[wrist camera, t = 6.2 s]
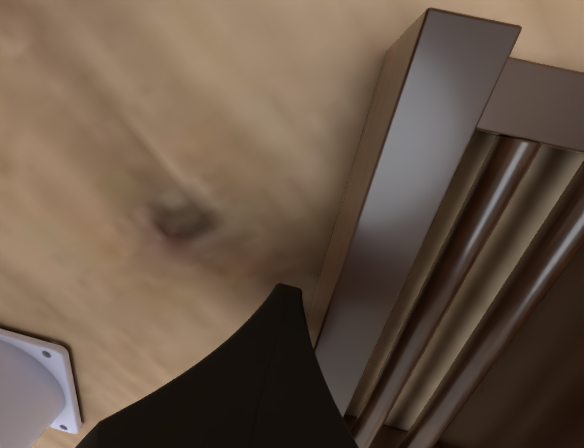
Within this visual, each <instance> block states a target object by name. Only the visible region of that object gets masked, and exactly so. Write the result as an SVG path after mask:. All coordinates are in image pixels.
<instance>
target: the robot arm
mask: <svg viewBox="0 0 584 448" xmlns="http://www.w3.org/2000/svg"><path fill="white" fill-rule="evenodd" d="M48 427H52V428H55V429H58V430H62V431H65V432H68V433H72V434H76V433H78V432H79V430H80V429H81V428H82V423H81V418H80V412H79V407H78V402H77V396H76V391H75V386H74V380H73V375H72V369H71V364H70V359H69V353H68V351H67V350H66V348H64V347H63V346H60V345H57V344H53V343H50V342H46V341H43V340H39V339H36V338H32V337H29V336H25V335H22V334H18V333H14V332H11V331H7V330H4V329H0V448H30V447H31V446H32V445H33V444H34V443H35V442H36V440H37V439H38V438H39V437H40V436H41V435H42V434H43V433H44V431H45V430H46V429H47V428H48ZM75 448H359V447H358V445H357V443H356V442H355V440H354V438H353V436H352V434H351V432H350V430H349V429H348V427H347V425H346V423H345V421H344V419H343V417H342V415H341V413H340V411H339V409H338V407H337V405H336V403H335V401H334V399H333V397H332V395H331V392H330V390H329V388H328V386H327V383H326V381H325V378H324V376H323V374H322V371H321V368H320V366H319V363H318V360H317V357H316V354H315V351H314V348H313V345H312V342H311V338H310V335H309V331H308V327H307V323H306V318H305V313H304V308H303V300H302V291H301V289H300V288H296V287H292V286H288V285H284V284H281V283H279V284H276V285H275V287H274V289H273V291H272V292H271V294H270V295H269V296H268V298H267V299H266V300H265V301H264V303H263V304H262V305H261V306H260V307H259V309H258V310H257V311H256V312H255V313H254V314H253V315H252V316H251V317H250V319H249V320H248V321H247V322H246V323H245V324H243V325H242V326H241V327H240V328H239V329H238V330H237V331H236V332H235V333H234V334H233V335H232V336H231V337H230V338H229V339H228V340H226V341H225V342H224V343H223V344H222V345H220V346H219V347H218V348H217V349H216V350H214V351H213V352H212V353H211V354H209V355H208V356H207V357H205V358H204V359H203V360H201V361H200V362H198V363H197V364H196V365H194V366H193V367H192V368H190V369H189V370H187V371H186V372H184V373H183V374H181V375H180V376H178V377H177V378H175V379H173V380H172V381H170V382H169V383H167V384H165V385H164V386H162V387H161V388H159V389H158V390H156V391H154V392H153V393H151V394H149V395H148V396H146V397H144V398H142V399H141V400H139V401H137V402H135V403H133V404H131V405H129V406H128V407H126V408H124V409H122V410H120V411H118V412H117V413H115V414H113V415H111V416H109V417H107V418H105V419H104V420H102V421H100V422H99V423H98V424H97V425H96V426H95V427H94V428H93V429H92V430H91V431H90V432H89V433H88V434H87V435H86V436H85V437H84V438H83V439H82V441H81V442H80V443H79V444H78V445H77V446H76V447H75Z"/></svg>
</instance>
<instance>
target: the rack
mask: <svg viewBox="0 0 584 448" xmlns="http://www.w3.org/2000/svg"><path fill="white" fill-rule="evenodd" d="M521 29H522V27H521V26H519V25H514V24H509V23H504V22H499V21H495V20H490V19H485V18H480V17H475V16H470V15H465V14H460V13H456V12H451V11H446V10H441V9H436V8H431V7H430V8H427V9H426V11H425V12H424V13H423V14H422V15H421V16H420V17H419V18H418V19H417V20H416V21H415V22H414V23H413V24H412V25H411V26H410V27H409V28H408V29H407V30H406V31H405V32H404V34H403V35H402V36H401V37H400V38H399V39H398V40H397V41H396V42H395V43H394V44H393V45H392V46H391V47H390V48H389V49H388V50H387V52H386V56H385V59H384V62H383V66H382V69H381V72H380V76H379V79H378V82H377V86H376V89H375V93H374V96H373V99H372V103H371V106H370V109H369V113H368V116H367V119H366V123H365V126H364V129H363V133H362V136H361V139H360V143H359V146H358V150H357V153H356V156H355V160H354V163H353V166H352V170H351V173H350V176H349V180H348V183H347V186H346V190H345V193H344V196H343V200H342V203H341V206H340V210H339V213H338V217H337V220H336V223H335V227H334V230H333V233H332V237H331V240H330V243H329V247H328V250H327V253H326V257H325V260H324V263H323V267H322V270H321V274H320V277H319V280H318V284H317V287H316V290H315V294H314V297H313V300H312V304H311V307H310V310H309V314H308V317H307V320H306V323H307V327H308V331H309V335H310V338H311V342H312V345H313V348H314V351H315V354H316V357H317V360H318V363H319V366H320V368H321V371H322V374H323V376H324V378H325V381H326V383H327V386H328V388H329V390H330V392H331V395H332V397H333V399H334V401H335V403H336V405H337V407H338V409H339V411H340V413H341V415H342V417H343V419H344V421H345V423H346V425H347V427H348V429H349V430H350V432H351V434H352V436H353V438H354V440H355V442H356V443H357V445H358V447H359V448H584V244H583V243H584V161H583V162H582V164H581V165H580V167H579V169H578V170H577V172H576V173H575V175H574V176H573V178H572V179H571V181H570V182H569V184H568V186H567V187H566V189H565V190H564V192H563V193H562V195H561V196H560V198H559V200H558V201H557V203H556V204H555V206H554V207H553V209H552V210H551V212H550V213H549V215H548V217H547V218H546V220H545V221H544V223H543V224H542V226H541V227H540V229H539V230H538V232H537V234H536V235H535V237H534V238H533V240H532V241H531V243H530V244H529V246H528V248H527V249H526V251H525V252H524V254H523V255H522V257H521V258H520V260H519V261H518V263H517V265H516V266H515V268H514V269H513V271H512V272H511V274H510V275H509V277H508V279H507V280H506V282H505V283H504V285H503V286H502V288H501V289H500V291H499V292H498V294H497V296H496V297H495V299H494V300H493V302H492V303H491V305H490V306H489V308H488V309H487V311H486V313H485V314H484V316H483V317H482V319H481V320H480V322H479V323H478V325H477V327H476V328H475V330H474V331H473V333H472V334H471V336H470V337H469V339H468V340H467V342H466V344H465V345H464V347H463V348H462V350H461V351H460V353H459V354H458V356H457V357H456V359H455V361H454V362H453V364H452V365H451V367H450V368H449V370H448V371H447V373H446V375H445V376H444V378H443V379H442V381H441V382H440V384H439V385H438V387H437V388H436V390H435V392H434V393H433V395H432V396H431V398H430V399H429V401H428V402H427V404H426V405H425V407H424V409H423V410H422V412H421V413H420V415H419V416H418V418H417V419H416V421H415V423H414V424H413V426H412V427H411V429H410V430H409V432H405V431H401V430H398V429H394V428H390V427H387V426H383V423H384V422H385V420H386V418H387V416H388V415H389V413H390V411H391V409H392V408H393V406H394V404H395V402H396V400H397V399H398V397H399V395H400V393H401V392H402V390H403V388H404V386H405V385H406V383H407V381H408V379H409V378H410V376H411V374H412V372H413V371H414V369H415V367H416V365H417V364H418V362H419V360H420V358H421V357H422V355H423V353H424V351H425V350H426V348H427V346H428V344H429V342H430V341H431V339H432V337H433V335H434V334H435V332H436V330H437V328H438V327H439V325H440V323H441V321H442V320H443V318H444V316H445V314H446V313H447V311H448V309H449V307H450V306H451V304H452V302H453V300H454V299H455V297H456V295H457V293H458V292H459V290H460V288H461V286H462V285H463V283H464V281H465V279H466V277H467V276H468V274H469V272H470V270H471V269H472V267H473V265H474V263H475V262H476V260H477V258H478V256H479V255H480V253H481V251H482V249H483V248H484V246H485V244H486V242H487V241H488V239H489V237H490V235H491V234H492V232H493V230H494V228H495V227H496V225H497V223H498V221H499V219H500V218H501V216H502V214H503V212H504V211H505V209H506V207H507V205H508V204H509V202H510V200H511V198H512V197H513V195H514V193H515V191H516V190H517V188H518V186H519V184H520V183H521V181H522V179H523V177H524V176H525V174H526V172H527V170H528V169H529V167H530V165H531V163H532V161H533V160H534V158H535V156H536V154H537V153H538V151H539V149H540V147H541V145H544V146H548V147H553V148H557V149H562V150H566V151H570V152H575V153H579V154H584V73H583V72H578V71H573V70H569V69H564V68H559V67H554V66H550V65H545V64H540V63H536V62H531V61H526V60H521V59H517V58H512V57H509V56H510V54H511V51H512V49H513V47H514V45H515V43H516V41H517V38H518V36H519V34H520V32H521ZM475 130H477V131H481V132H486V133H490V134H495V135H498V136H497V137H496V139H495V141H494V143H493V145H492V147H491V149H490V151H489V153H488V155H487V157H486V159H485V161H484V163H483V165H482V167H481V169H480V171H479V173H478V175H477V177H476V179H475V181H474V183H473V185H472V187H471V189H470V191H469V193H468V195H467V197H466V199H465V201H464V203H463V205H462V207H461V209H460V211H459V213H458V215H457V217H456V219H455V221H454V223H453V225H452V227H451V229H450V231H449V233H448V236H447V238H446V240H445V242H444V244H443V246H442V248H441V250H440V252H439V254H438V256H437V258H436V260H435V262H434V264H433V266H432V268H431V270H430V272H429V274H428V276H427V278H426V280H425V282H424V284H423V286H422V288H421V290H420V292H419V294H418V296H417V298H416V300H415V302H414V304H413V306H412V308H411V310H410V312H409V314H408V316H407V318H406V320H405V322H404V324H403V326H402V328H401V330H400V332H399V334H398V336H397V338H396V340H395V342H394V344H393V346H392V348H391V350H390V352H389V354H388V357H387V359H386V361H385V363H384V365H383V367H382V369H381V371H380V373H379V375H378V377H377V379H376V381H375V383H374V385H373V387H372V389H371V391H370V393H369V395H368V397H367V399H366V401H365V403H364V405H363V407H362V409H361V411H360V413H359V415H358V417H357V418H355V417H351V416H347V415H344V414H345V412H346V410H347V408H348V405H349V403H350V401H351V399H352V397H353V395H354V392H355V390H356V388H357V386H358V384H359V382H360V379H361V377H362V375H363V373H364V371H365V369H366V366H367V364H368V362H369V360H370V358H371V356H372V353H373V351H374V349H375V347H376V345H377V342H378V340H379V338H380V336H381V334H382V332H383V329H384V327H385V325H386V323H387V321H388V319H389V316H390V314H391V312H392V310H393V308H394V306H395V303H396V301H397V299H398V297H399V295H400V293H401V290H402V288H403V286H404V284H405V282H406V279H407V277H408V275H409V273H410V271H411V269H412V266H413V264H414V262H415V260H416V258H417V256H418V253H419V251H420V249H421V247H422V245H423V243H424V240H425V238H426V236H427V234H428V232H429V230H430V227H431V225H432V223H433V221H434V219H435V217H436V214H437V212H438V210H439V208H440V206H441V203H442V201H443V199H444V197H445V195H446V193H447V190H448V188H449V186H450V184H451V182H452V180H453V177H454V175H455V173H456V171H457V169H458V167H459V164H460V162H461V160H462V158H463V156H464V154H465V151H466V149H467V147H468V145H469V143H470V140H471V138H472V136H473V134H474V132H475ZM581 246H582V247H581ZM578 250H579V251H578ZM575 254H576V255H575ZM572 258H573V259H572ZM570 261H571V262H570ZM569 262H570V263H569ZM567 265H568V266H567ZM566 266H567V267H566ZM564 269H565V270H564ZM561 273H562V274H561ZM558 277H559V278H558ZM555 281H556V282H555ZM553 284H554V285H553ZM552 285H553V286H552ZM550 288H551V289H550ZM547 292H548V293H547ZM544 296H545V297H544ZM541 300H542V301H541ZM538 304H539V305H538ZM536 307H537V308H536ZM535 308H536V309H535ZM533 311H534V312H533ZM530 315H531V316H530ZM527 319H528V320H527ZM524 323H525V324H524ZM522 326H523V327H522ZM521 327H522V328H521ZM519 330H520V331H519ZM516 334H517V335H516ZM513 338H514V339H513ZM510 342H511V343H510ZM507 346H508V347H507ZM505 349H506V350H505ZM504 350H505V351H504ZM502 353H503V354H502ZM499 357H500V358H499ZM496 361H497V362H496ZM493 365H494V366H493ZM490 369H491V370H490ZM488 372H489V373H488ZM485 376H486V377H485ZM482 380H483V381H482ZM479 384H480V385H479ZM476 388H477V389H476ZM473 392H474V393H473ZM471 395H472V396H471ZM468 399H469V400H468ZM465 403H466V404H465ZM462 407H463V408H462ZM459 411H460V412H459ZM457 414H458V415H457ZM454 418H455V419H454ZM451 422H452V423H451ZM448 426H449V427H448ZM445 430H446V431H445ZM442 434H443V435H442ZM440 437H441V438H440Z"/></svg>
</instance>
